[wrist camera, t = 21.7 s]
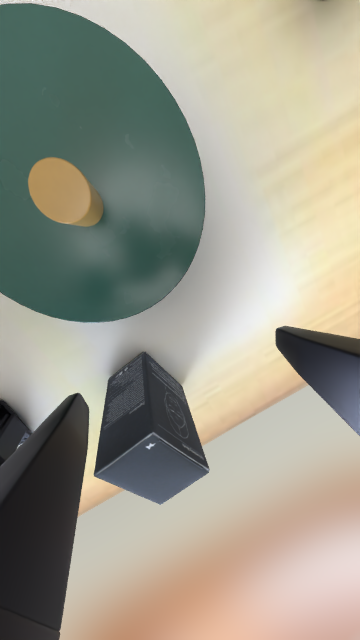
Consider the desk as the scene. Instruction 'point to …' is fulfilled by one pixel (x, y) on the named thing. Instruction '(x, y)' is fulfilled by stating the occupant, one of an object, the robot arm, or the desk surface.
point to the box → (148, 434)
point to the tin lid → (90, 171)
